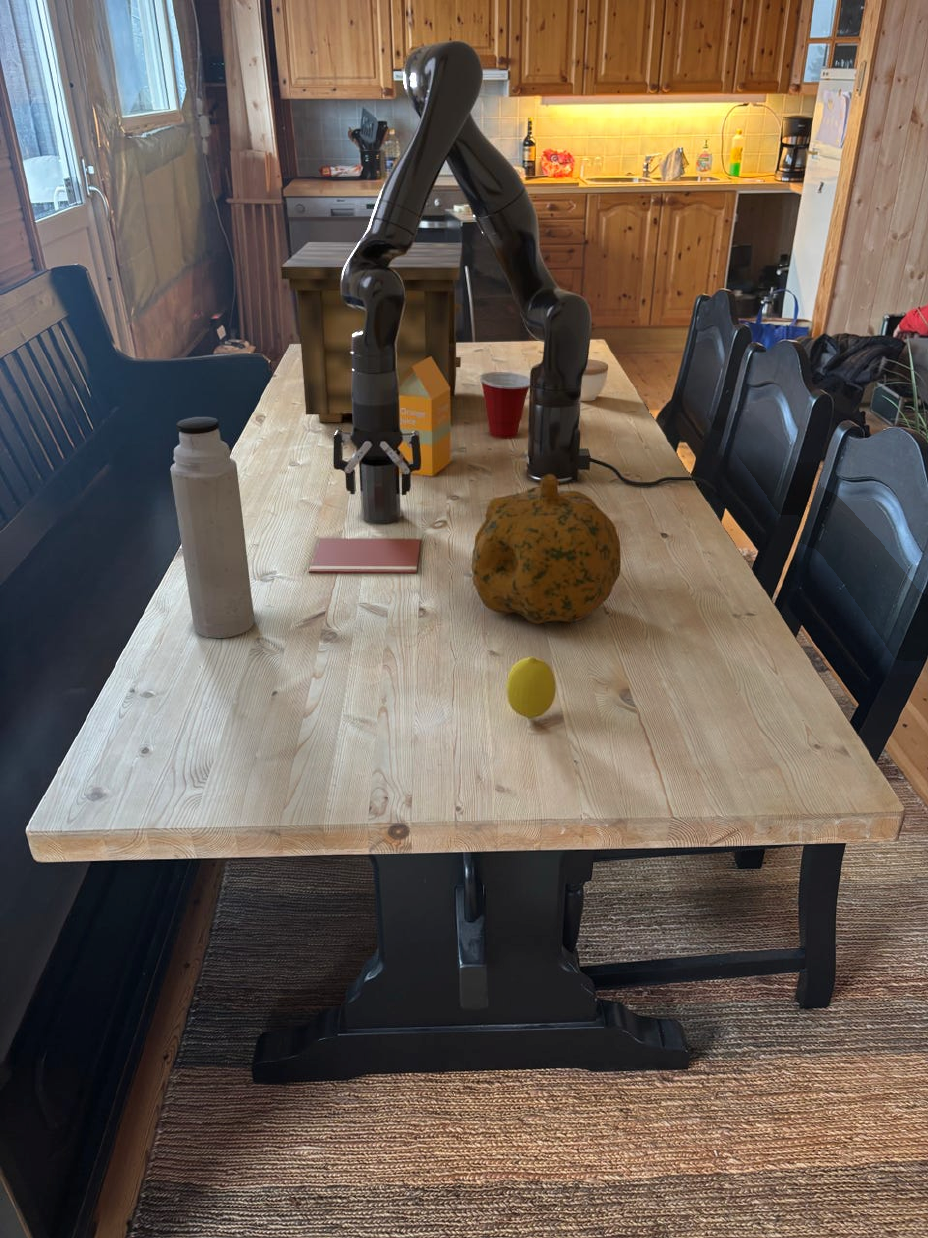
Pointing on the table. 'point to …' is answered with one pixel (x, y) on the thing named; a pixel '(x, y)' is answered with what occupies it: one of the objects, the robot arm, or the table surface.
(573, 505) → the decorative pumpkin
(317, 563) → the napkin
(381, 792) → the table surface
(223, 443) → the thermos bottle
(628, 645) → the table surface
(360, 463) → the black cup
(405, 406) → the orange juice
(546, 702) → the lemon
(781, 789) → the table surface
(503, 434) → the plastic cup
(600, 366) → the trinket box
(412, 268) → the crate
